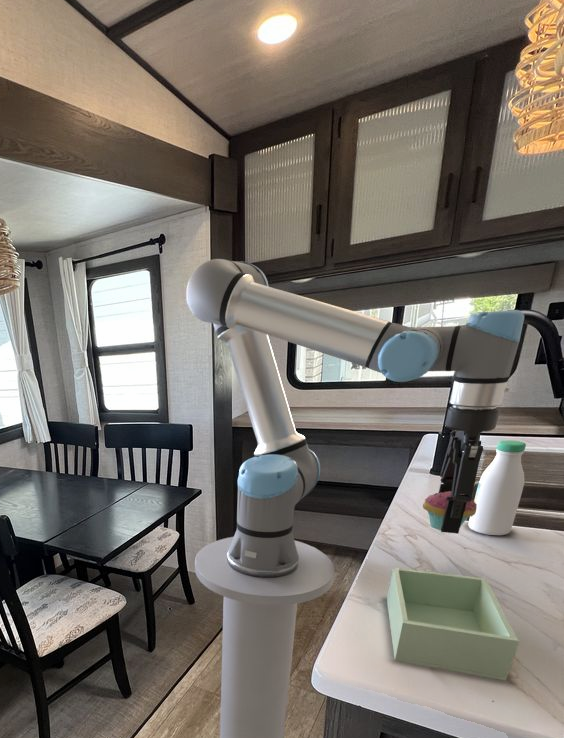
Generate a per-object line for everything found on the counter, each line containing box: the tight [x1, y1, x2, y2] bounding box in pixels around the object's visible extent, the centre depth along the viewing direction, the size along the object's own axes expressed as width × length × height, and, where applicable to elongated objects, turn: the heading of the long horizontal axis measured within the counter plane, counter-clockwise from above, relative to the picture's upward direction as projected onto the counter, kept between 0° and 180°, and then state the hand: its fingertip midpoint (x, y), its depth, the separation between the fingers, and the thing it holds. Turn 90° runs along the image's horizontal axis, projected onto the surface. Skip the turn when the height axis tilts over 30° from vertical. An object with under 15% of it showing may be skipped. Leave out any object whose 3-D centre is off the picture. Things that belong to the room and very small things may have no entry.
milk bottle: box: [468, 440, 527, 536], centre depth 102 cm, size 8×8×20 cm
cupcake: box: [422, 491, 477, 531], centre depth 90 cm, size 9×8×12 cm
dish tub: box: [386, 567, 520, 682], centre depth 72 cm, size 18×13×7 cm
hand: (445, 523), depth 92 cm, fingers closed on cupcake, 8 cm apart
